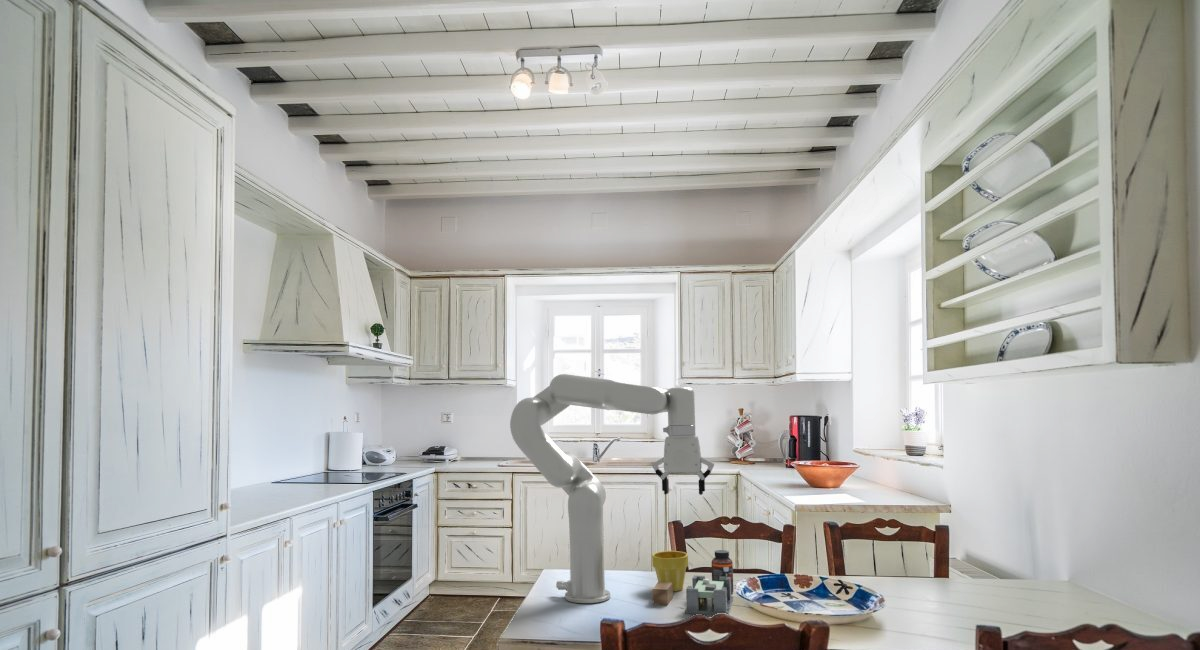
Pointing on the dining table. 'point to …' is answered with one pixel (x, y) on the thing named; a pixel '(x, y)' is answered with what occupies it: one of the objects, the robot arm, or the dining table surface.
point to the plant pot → (671, 567)
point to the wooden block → (662, 593)
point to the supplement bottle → (722, 566)
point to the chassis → (709, 599)
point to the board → (708, 587)
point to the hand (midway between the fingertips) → (683, 493)
